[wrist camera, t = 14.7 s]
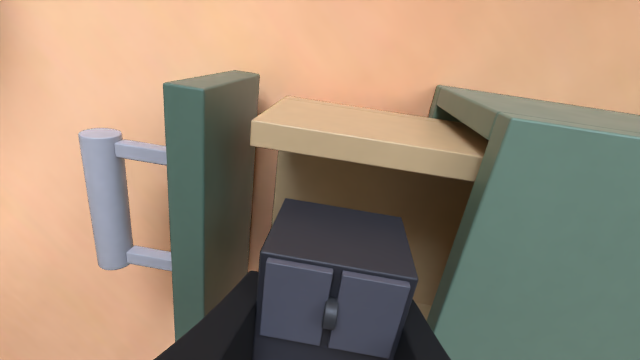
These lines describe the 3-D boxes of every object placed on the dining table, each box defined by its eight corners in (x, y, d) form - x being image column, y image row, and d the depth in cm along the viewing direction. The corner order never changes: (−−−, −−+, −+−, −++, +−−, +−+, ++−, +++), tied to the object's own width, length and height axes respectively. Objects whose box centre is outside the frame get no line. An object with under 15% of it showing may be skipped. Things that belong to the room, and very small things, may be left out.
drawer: (147, 262, 19) (66, 347, 14) (131, 54, 15) (1, 57, 9) (444, 315, 18) (482, 427, 13) (520, 113, 14) (624, 153, 9)
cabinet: (379, 301, 19) (392, 444, 12) (436, 84, 15) (511, 117, 8) (612, 343, 19) (764, 517, 12) (751, 131, 14) (1147, 214, 7)
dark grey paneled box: (270, 331, 12) (241, 432, 9) (285, 197, 10) (252, 266, 7) (367, 349, 12) (371, 457, 9) (402, 216, 10) (424, 296, 7)
